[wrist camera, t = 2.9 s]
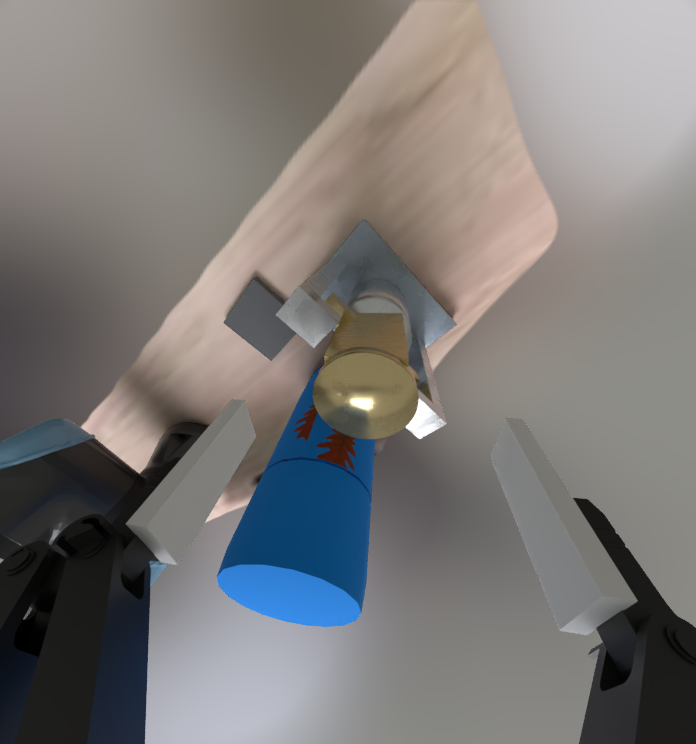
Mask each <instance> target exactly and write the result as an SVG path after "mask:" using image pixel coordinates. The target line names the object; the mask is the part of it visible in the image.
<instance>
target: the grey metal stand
mask: <svg viewBox="0 0 696 744" xmlns="http://www.w3.org/2000/svg"><path fill="white" fill-rule="evenodd" d="M332 292H334V293H335V294H336V295H337V296H338V297H339V298H340V299H341V300H342V301H343V302H344V303H345V304H346V305H347V306H348V307H349V308H350V309H351V310H352V311H353V312H354V313H403V320H404V327H405V334H406V341H407V349H408V356H409V363H408V365H409V366H410V367H411V368H412V369H413V370H414V371H415V372H416V373H417V374H418V375H419V380H420V382H419V383H417V390H418V398H419V401H418V408H417V411H416V414H415V416H414V418H413V419H412V421H411V422H410V423H409V424H408V425H407V426H406V428H407V429H408V430H409V431H411V432H412V433H413V434H414V435H415V436H416V437H418V438H419V439H420V438H422V437H424V436H426V435H428V434H429V433H431V432H433V431H435V430H437V429H438V428H440V427H442V426H444V425H445V424H447V423H446V419H445V416H444V412H443V408H442V405H441V401H440V398H439V394H438V390H437V387H436V383H435V380H434V376H433V372H432V369H431V365H430V361H429V358H428V354H427V350H426V347H428V346H429V345H430V344H432V343H433V342H434V341H436V340H437V339H438V338H440V337H441V336H442V335H444V334H445V333H446V332H448V331H449V330H450V329H452V328H453V327H454V326H456V325H457V324H456V323H455V321H454V319H453V318H452V317H451V316H450V315H449V314H448V312H447V311H446V310H445V309H444V308H443V307H442V306H441V305H440V303H439V302H438V301H437V300H436V299H435V298H434V297H433V296H432V294H431V293H430V292H429V291H428V290H427V289H426V288H425V287H424V285H423V284H422V283H421V282H420V281H419V280H418V279H417V277H416V276H415V275H414V274H413V273H412V272H411V271H410V270H409V268H408V267H407V266H406V265H405V264H404V263H403V262H402V261H401V259H400V258H399V257H398V256H397V255H396V254H395V253H394V252H393V250H392V249H391V248H390V247H389V246H388V245H387V244H386V243H385V241H384V240H383V239H382V238H381V237H380V236H379V235H378V234H377V232H376V231H375V230H374V229H373V228H372V227H371V226H370V225H369V223H368V222H367V221H366V220H365V219H363V220H362V221H361V222H360V224H359V225H358V226H357V227H356V228H355V230H354V231H353V232H352V233H351V234H350V236H349V237H348V238H347V239H346V241H345V242H344V243H343V244H342V245H341V247H340V248H339V249H338V250H337V251H336V253H335V254H334V255H333V256H332V257H331V259H330V260H329V261H328V262H327V263H326V265H324V266H323V267H322V268H321V269H319V270H318V271H317V272H316V273H314V274H313V275H312V276H311V277H310V278H308V279H307V280H306V281H305V282H303V283H302V284H301V285H300V286H298V288H297V289H296V290H295V291H294V293H293V294H292V295H291V296H290V298H289V299H288V300H287V301H286V303H285V304H284V305H283V306H282V308H281V309H280V310H279V311H278V313H277V314H276V316H277V317H279V318H280V319H281V320H282V321H283V322H284V323H285V324H287V325H288V326H289V327H290V328H291V329H292V330H294V331H295V332H296V333H297V334H298V335H299V336H301V337H302V338H303V339H304V340H305V341H306V342H307V343H309V344H310V345H311V346H312V347H313V348H314V347H315V346H316V345H317V344H318V343H319V342H320V341H321V340H322V339H323V338H324V337H325V336H326V335H327V334H328V333H329V332H330V331H331V330H333V331H334V333H335V331H336V328H337V327H336V325H337V324H338V323H339V321H340V319H341V316H340V315H339V314H338V313H337V312H336V311H335V310H334V309H333V308H332V307H331V306H329V305H328V304H327V303H326V302H325V300H326V299H327V298H328V296H329V295H330V294H331V293H332Z"/></svg>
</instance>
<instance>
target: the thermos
mask: <svg viewBox="0 0 696 744" xmlns="http://www.w3.org/2000/svg"><path fill="white" fill-rule="evenodd" d="M321 368H322V367H321ZM321 368H320V369H321ZM320 369H318V370H317V371H315V373H314V375H313V376H312V378H311V379H310V381H309V383H308V384H307V386H306V388H305V389H304V391H303V393H302V395H301V397H300V399H299V401H298V403H297V405H296V407H295V409H294V411H293V413H292V415H291V417H290V419H289V421H288V423H287V426H286V428H285V430H284V432H283V434H282V436H281V438H280V440H279V442H278V444H277V446H276V448H275V450H274V452H273V455H272V457H271V459H270V461H269V463H268V465H267V467H266V469H265V471H264V473H263V475H262V478H261V479H260V481H259V484H258V486H257V488H256V490H255V492H254V494H253V496H252V498H251V500H250V502H249V504H248V506H247V508H246V510H245V513H244V515H243V517H242V519H241V521H240V523H239V525H238V527H237V529H236V531H235V533H234V535H233V537H232V540H231V542H230V544H229V546H228V548H227V550H226V553H225V556H224V559H223V561H222V564H221V567H220V570H219V573H218V575H217V579H218V584H219V587H220V588H221V589H222V590H223V591H224V592H225V593H226V594H227V595H228V596H229V597H230V598H232V599H233V600H235V601H236V602H238V603H240V604H241V605H243V606H245V607H247V608H249V609H251V610H254V611H256V612H258V613H261V614H263V615H266V616H269V617H272V618H276V619H279V620H282V621H286V622H291V623H296V624H302V625H310V626H322V627H330V626H341V625H346V624H348V623H351V622H354V621H356V620H357V618H358V617H359V615H360V614H361V611H362V605H363V599H364V593H365V587H366V578H367V561H368V545H369V529H370V513H371V512H370V511H371V496H372V480H373V463H374V448H375V439H360V438H354V437H350V436H347V435H345V434H342V433H340V432H338V431H336V430H335V429H333V428H332V427H330V426H329V425H328V424H327V423H326V422H325V421H324V420H323V419H322V418H321V416H320V415H319V414H318V412H317V410H316V408H315V405H314V401H313V387H314V383H315V381H316V378H317V376H318V374H319V372H320Z"/></svg>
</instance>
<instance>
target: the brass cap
mask: <svg viewBox="0 0 696 744" xmlns="http://www.w3.org/2000/svg"><path fill="white" fill-rule="evenodd" d="M325 302H326V303H327V304H328V305H329V306H331V307H332V308H333V309H334V310H335V311H336V312H337V313H338V314H339V315H340V316H341V319H340V321H339V323H338V324H337V325H336V327H337V328H336V331H335V333H334V335H333V337H332V339H331V342H330V344H329V346H328V348H327V350H326V353H325V355H324V361H325V363H324V365H323V366H322V368H321V369H320V372H319V374H318V376H317V378H316V381H315V383H314V387H313V401H314V405H315V408H316V410H317V412H318V414H319V415H320V416H321V418H322V419H323V420H324V421H325V422H326V423H327V424H328V425H329V426H330V427H332V428H333V429H335V430H336V431H338V432H340V433H342V434H345V435H347V436H350V437H354V438H360V439H379V438H384V437H388V436H391V435H393V434H395V433H397V432H399V431H401V430H402V429H404V428H405V427H406V426H407V425H408V424H409V423H410V422H411V421H412V419H413V418H414V416H415V414H416V411H417V408H418V401H419V398H418V390H417V383H419V382H420V380H419V375H418V374H417V373H416V372H415V371H414V370H413V369H412V368H411V367H410V366H409V365H408V363H409V356H408V349H407V341H406V334H405V327H404V320H403V313H354V312H353V311H352V310H351V309H350V308H349V307H348V306H347V305H346V304H345V303H344V302H343V301H342V300H341V299H340V298H339V297H338V296H337V295H336V294H335V293H334V292H332V293H331V294H330V295H329V296H328V298H327V299H326V300H325Z"/></svg>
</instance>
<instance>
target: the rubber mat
mask: <svg viewBox="0 0 696 744" xmlns="http://www.w3.org/2000/svg"><path fill="white" fill-rule="evenodd" d="M284 304H285V302H284V301H283V300H282V299H281V298H280V297H279V296H278V295H276V294H275V293H274V292H273V291H272V290H271V289H270V288H269V287H267V286H266V285H265V284H264V283H263V282H262V281H261V280H260V279H258V278H257V277H256V278H254V279H253V280H252V281H251V283H250V284H249V286H248V287H247V289H246V290H245V292H244V293H243V295H242V296H241V297H240V299H239V300H238V302H237V303H236V305H235V306H234V308H233V309H232V311H231V312H230V314H229V315H228V317H227V318H226V320H225V321H224V324H226V325H227V326H228V327H229V328H231V329H232V330H233V331H234V332H236V333H237V334H238V335H239V336H241V337H242V338H243V339H244V340H246V341H247V342H248V343H249V344H251V345H252V346H253V347H254V348H256V349H257V350H258V351H259V352H261V353H262V354H263V355H264V356H266V357H267V358H268V359H269V360H271V361H272V359H273V358H274V357H275V356H276V355H277V354H278V353H279V352H280V351H281V349H282V348H283V347H284V346H285V345H286V344H287V343H288V342H289V341H290V340H291V338H292V337H293V336H294V335H295V334H296V332H295V331H294V330H292V329H291V328H290V327H289V326H288V325H287V324H285V323H284V322H283V321H282V320H281V319H280V318H279V317H277V316H276V314H277V313H278V311H279V310H280V309H281V308H282V306H283V305H284Z"/></svg>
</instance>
